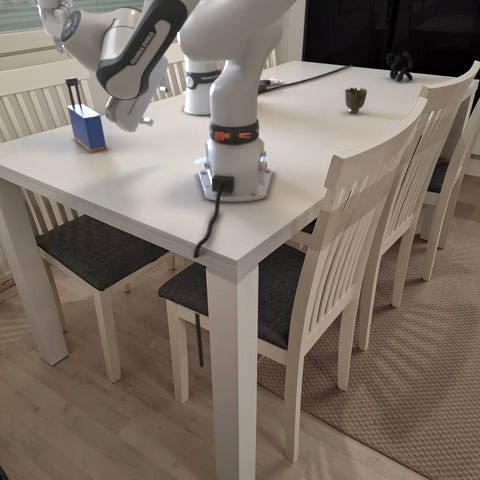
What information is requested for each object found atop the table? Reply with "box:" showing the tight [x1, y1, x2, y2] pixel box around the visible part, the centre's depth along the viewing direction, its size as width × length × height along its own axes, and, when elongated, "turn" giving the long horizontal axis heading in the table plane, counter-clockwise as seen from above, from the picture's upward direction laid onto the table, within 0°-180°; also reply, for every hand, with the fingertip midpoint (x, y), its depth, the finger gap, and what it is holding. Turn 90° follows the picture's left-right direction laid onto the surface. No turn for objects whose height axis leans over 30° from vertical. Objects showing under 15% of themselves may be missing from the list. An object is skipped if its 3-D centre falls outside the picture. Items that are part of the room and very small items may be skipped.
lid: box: [64, 77, 102, 121], centre depth 129 cm, size 15×5×9 cm, turn 36°
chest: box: [67, 109, 107, 153], centre depth 134 cm, size 15×5×9 cm, turn 36°
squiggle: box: [385, 51, 414, 83], centre depth 198 cm, size 11×10×15 cm
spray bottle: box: [258, 77, 284, 92], centre depth 191 cm, size 3×11×24 cm
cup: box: [344, 87, 368, 115], centre depth 156 cm, size 8×7×8 cm
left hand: (66, 55), depth 127 cm, fingers open, 8 cm apart
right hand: (159, 107), depth 112 cm, fingers open, 8 cm apart
